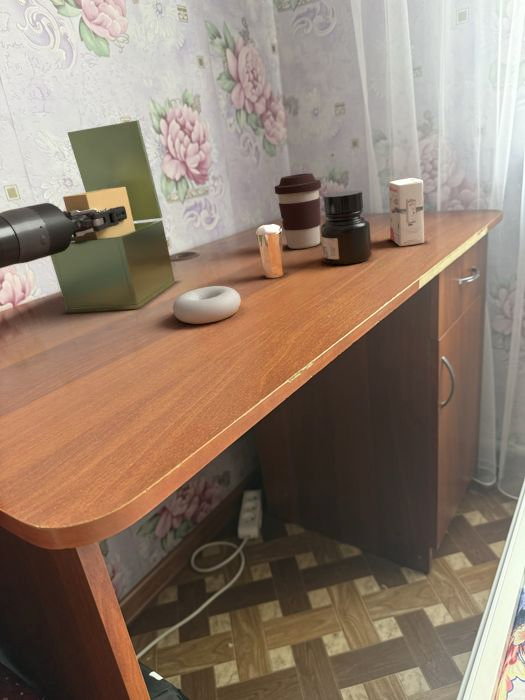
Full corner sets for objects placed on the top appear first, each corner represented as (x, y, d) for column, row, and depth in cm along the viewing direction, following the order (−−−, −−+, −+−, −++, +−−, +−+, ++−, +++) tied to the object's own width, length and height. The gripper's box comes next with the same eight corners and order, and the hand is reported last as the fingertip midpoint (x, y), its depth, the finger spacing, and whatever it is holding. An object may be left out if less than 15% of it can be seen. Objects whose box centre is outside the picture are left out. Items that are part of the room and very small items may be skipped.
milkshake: (283, 279, 87) (276, 221, 83) (257, 279, 89) (249, 222, 86) (295, 272, 90) (289, 216, 86) (270, 272, 93) (263, 217, 89)
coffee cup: (335, 241, 111) (329, 170, 105) (305, 252, 105) (297, 177, 99) (302, 239, 118) (295, 173, 112) (272, 249, 112) (263, 180, 106)
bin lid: (136, 120, 83) (138, 120, 84) (67, 132, 87) (69, 132, 88) (161, 218, 91) (162, 217, 91) (95, 225, 94) (97, 224, 95)
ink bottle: (323, 256, 99) (318, 194, 94) (368, 251, 97) (365, 187, 93) (323, 268, 90) (317, 200, 85) (373, 263, 88) (370, 193, 84)
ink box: (389, 239, 105) (387, 180, 101) (413, 236, 105) (411, 177, 101) (399, 247, 97) (397, 184, 93) (425, 243, 97) (424, 180, 93)
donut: (217, 330, 67) (255, 305, 75) (212, 306, 66) (251, 283, 73) (161, 326, 72) (202, 302, 80) (156, 303, 71) (198, 281, 79)
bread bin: (138, 308, 82) (121, 237, 77) (67, 313, 86) (47, 244, 81) (175, 282, 96) (162, 220, 91) (112, 287, 99) (97, 227, 95)
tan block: (101, 257, 82) (85, 194, 78) (79, 257, 84) (62, 196, 81) (138, 244, 89) (125, 186, 85) (116, 245, 91) (103, 189, 88)
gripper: (55, 204, 68) (138, 187, 81) (-9, 210, 75) (77, 194, 88) (70, 258, 71) (148, 233, 84) (7, 259, 78) (88, 236, 91)
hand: (111, 213), depth 86 cm, fingers closed on tan block, 5 cm apart
